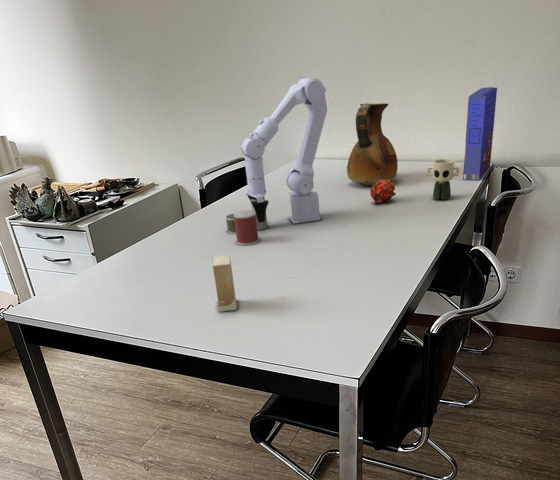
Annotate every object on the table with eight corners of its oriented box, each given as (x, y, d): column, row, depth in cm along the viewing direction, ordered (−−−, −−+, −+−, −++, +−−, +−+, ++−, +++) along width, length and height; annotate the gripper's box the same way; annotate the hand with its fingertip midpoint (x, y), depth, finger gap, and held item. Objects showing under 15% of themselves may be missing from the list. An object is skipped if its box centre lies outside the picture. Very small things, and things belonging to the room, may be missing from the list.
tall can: (257, 236, 193) (254, 209, 189) (260, 243, 187) (257, 215, 183) (236, 239, 192) (232, 212, 188) (238, 246, 186) (234, 218, 182)
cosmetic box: (219, 302, 151) (212, 256, 144) (236, 300, 151) (230, 254, 144) (219, 312, 145) (212, 265, 139) (237, 310, 145) (230, 263, 139)
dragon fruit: (391, 201, 219) (378, 215, 212) (373, 187, 219) (360, 201, 212) (403, 184, 212) (391, 198, 205) (384, 169, 213) (371, 183, 205)
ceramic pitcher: (405, 178, 240) (406, 97, 225) (384, 191, 226) (385, 106, 211) (361, 176, 250) (359, 98, 235) (339, 188, 236) (336, 107, 220)
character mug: (424, 201, 210) (425, 163, 204) (428, 195, 216) (429, 158, 209) (455, 201, 206) (457, 163, 199) (459, 196, 212) (461, 158, 205)
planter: (266, 229, 198) (262, 199, 193) (253, 230, 199) (249, 199, 194) (268, 225, 202) (265, 195, 197) (256, 226, 203) (252, 195, 198)
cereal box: (475, 166, 246) (481, 87, 231) (490, 167, 243) (497, 86, 228) (462, 180, 230) (468, 95, 215) (478, 180, 227) (485, 95, 212)
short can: (245, 226, 204) (244, 211, 201) (248, 231, 198) (246, 217, 196) (226, 229, 203) (224, 214, 201) (228, 234, 198) (226, 219, 195)
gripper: (240, 174, 198) (245, 214, 205) (246, 184, 185) (250, 226, 192) (261, 171, 198) (265, 211, 205) (268, 181, 186) (272, 223, 193)
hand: (259, 218), depth 199 cm, fingers open, 7 cm apart
